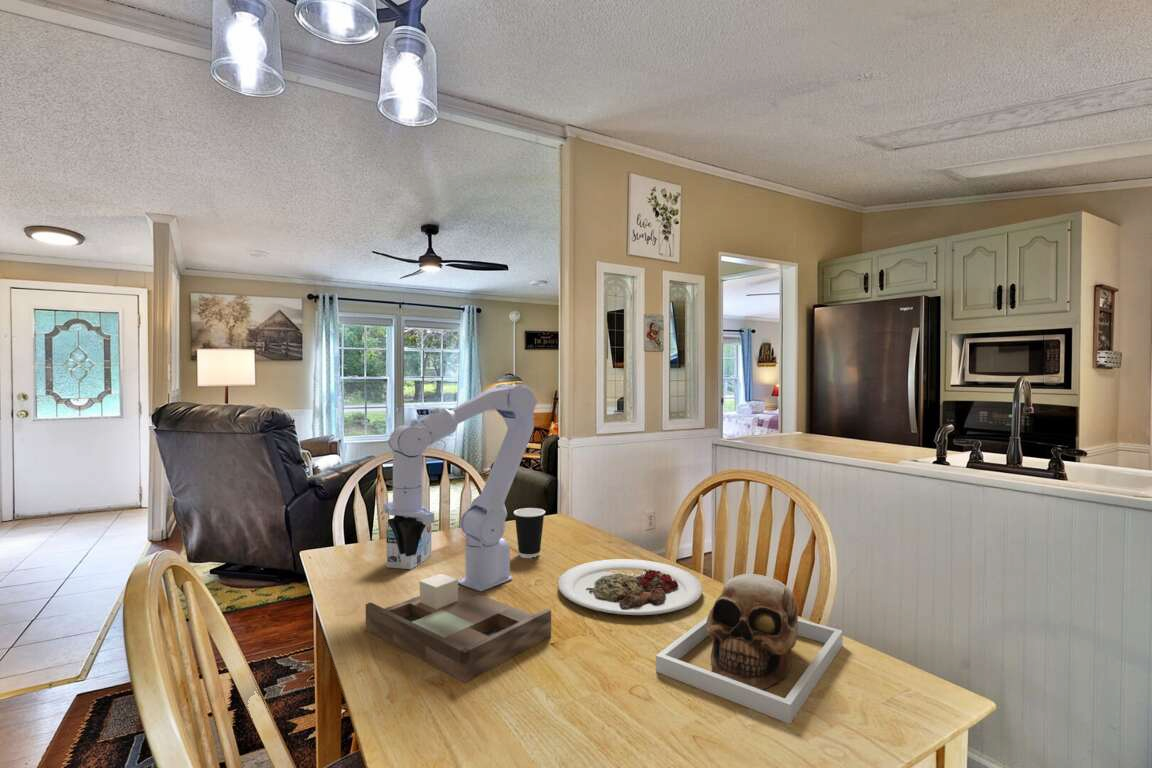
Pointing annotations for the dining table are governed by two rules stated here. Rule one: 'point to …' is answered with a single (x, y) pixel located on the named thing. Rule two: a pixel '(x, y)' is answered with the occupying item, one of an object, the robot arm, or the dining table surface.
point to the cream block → (438, 591)
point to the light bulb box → (400, 559)
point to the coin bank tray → (744, 693)
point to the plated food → (630, 587)
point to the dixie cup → (529, 531)
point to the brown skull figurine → (753, 630)
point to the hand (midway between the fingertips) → (407, 554)
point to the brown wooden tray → (459, 632)
